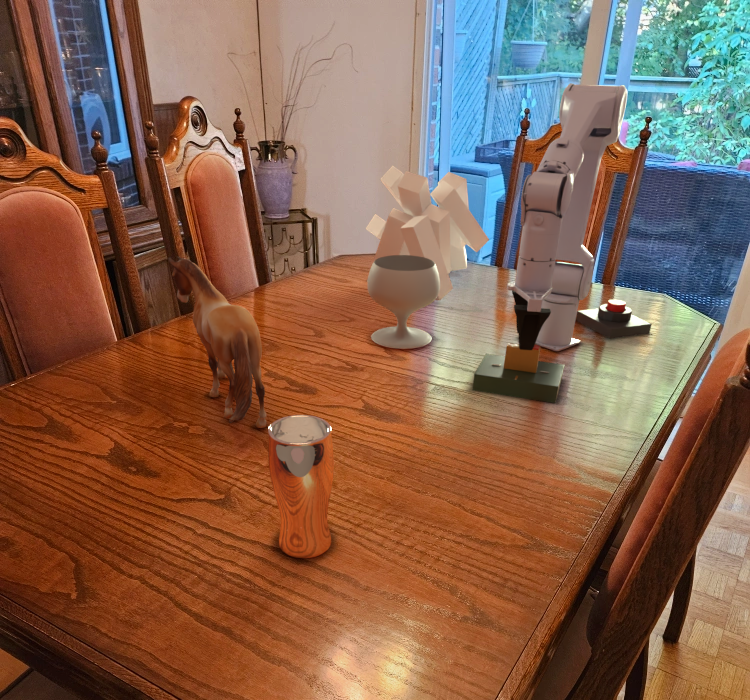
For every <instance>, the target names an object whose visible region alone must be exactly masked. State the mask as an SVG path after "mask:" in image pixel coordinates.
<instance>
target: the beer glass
mask: <svg viewBox="0 0 750 700" xmlns="http://www.w3.org/2000/svg"><path fill="white" fill-rule="evenodd" d="M267 433H268V447H267V450H268V453H267V454H268V455H267V456H268V470H269V478H270V482H271V486H272V491H273V494H274V497H275V501H276V504H277V508H278V511H279V517H280V530H279V537H278V546H279V548H280V550H281V551H282V552H283V553H284V554H285V555H287V556H289V557H292V558H296V559H312V558H316V557H318V556H321V555H322V554H324V553H326V552H327V551H328V550H329V548H330V547H331V545H332V536H331V532H330V527H329V522H328V510H329V504H330V500H331V499H330V498H331V493H332V487H333V481H334V470H335V469H334V467H335V465H334V464H335V461H334V460H335V459H334V447H333V437H332V426H331V424H330V423H329V422H328V421H327V420H325V419H323V418H321V417H318V416H315V415H308V414H293V415H287V416H284V417H281V418H278V419H276V420H274V421H273V422H272V423H271V424H270V425H269V426H268V429H267Z"/></svg>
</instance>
